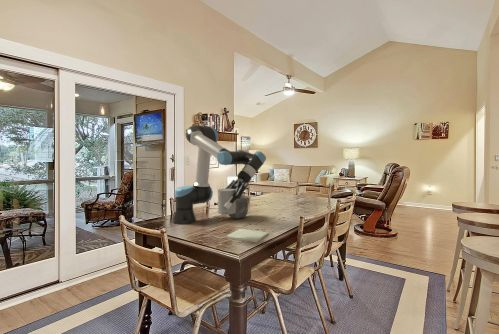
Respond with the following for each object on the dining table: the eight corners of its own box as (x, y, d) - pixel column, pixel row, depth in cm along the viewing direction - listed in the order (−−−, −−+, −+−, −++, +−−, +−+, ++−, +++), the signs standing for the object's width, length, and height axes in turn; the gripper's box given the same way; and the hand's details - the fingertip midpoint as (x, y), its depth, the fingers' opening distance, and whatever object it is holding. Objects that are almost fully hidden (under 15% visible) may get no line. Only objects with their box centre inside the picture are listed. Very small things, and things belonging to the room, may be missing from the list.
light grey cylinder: (228, 215, 142) (228, 191, 141) (214, 213, 147) (213, 190, 147) (239, 211, 150) (238, 189, 149) (225, 210, 155) (224, 188, 155)
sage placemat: (226, 237, 149) (226, 236, 149) (240, 230, 164) (240, 228, 163) (256, 242, 141) (256, 240, 141) (268, 234, 156) (268, 232, 156)
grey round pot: (218, 218, 194) (218, 197, 194) (234, 213, 209) (233, 194, 208) (238, 221, 184) (238, 199, 184) (253, 216, 199) (253, 196, 198)
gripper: (261, 180, 147) (236, 213, 139) (240, 177, 165) (217, 207, 158) (253, 170, 144) (227, 204, 136) (232, 169, 162) (208, 198, 155)
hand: (221, 205), depth 147 cm, fingers closed on light grey cylinder, 9 cm apart
